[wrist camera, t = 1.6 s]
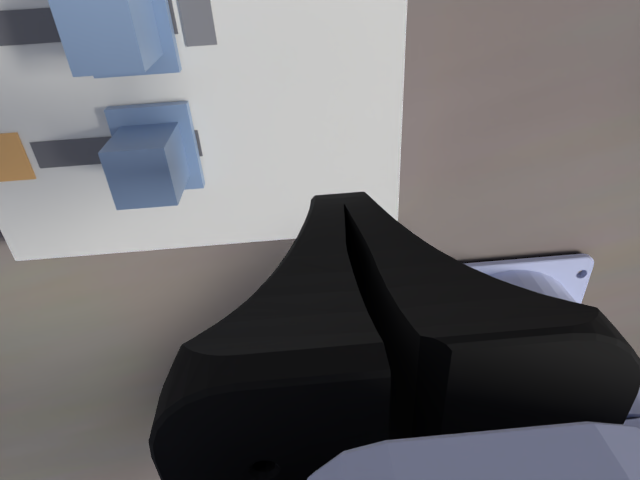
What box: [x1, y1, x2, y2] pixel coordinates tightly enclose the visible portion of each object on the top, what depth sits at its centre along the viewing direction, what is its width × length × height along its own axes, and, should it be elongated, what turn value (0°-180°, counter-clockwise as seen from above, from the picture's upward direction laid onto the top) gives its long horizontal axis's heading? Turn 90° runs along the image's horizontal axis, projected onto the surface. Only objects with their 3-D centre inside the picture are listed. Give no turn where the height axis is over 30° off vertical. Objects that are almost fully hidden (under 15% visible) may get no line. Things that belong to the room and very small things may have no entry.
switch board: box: [0, 0, 407, 261], centre depth 16 cm, size 15×16×2 cm
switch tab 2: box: [98, 101, 205, 210], centre depth 16 cm, size 3×3×3 cm
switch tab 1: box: [48, 0, 182, 78], centre depth 14 cm, size 3×3×3 cm
